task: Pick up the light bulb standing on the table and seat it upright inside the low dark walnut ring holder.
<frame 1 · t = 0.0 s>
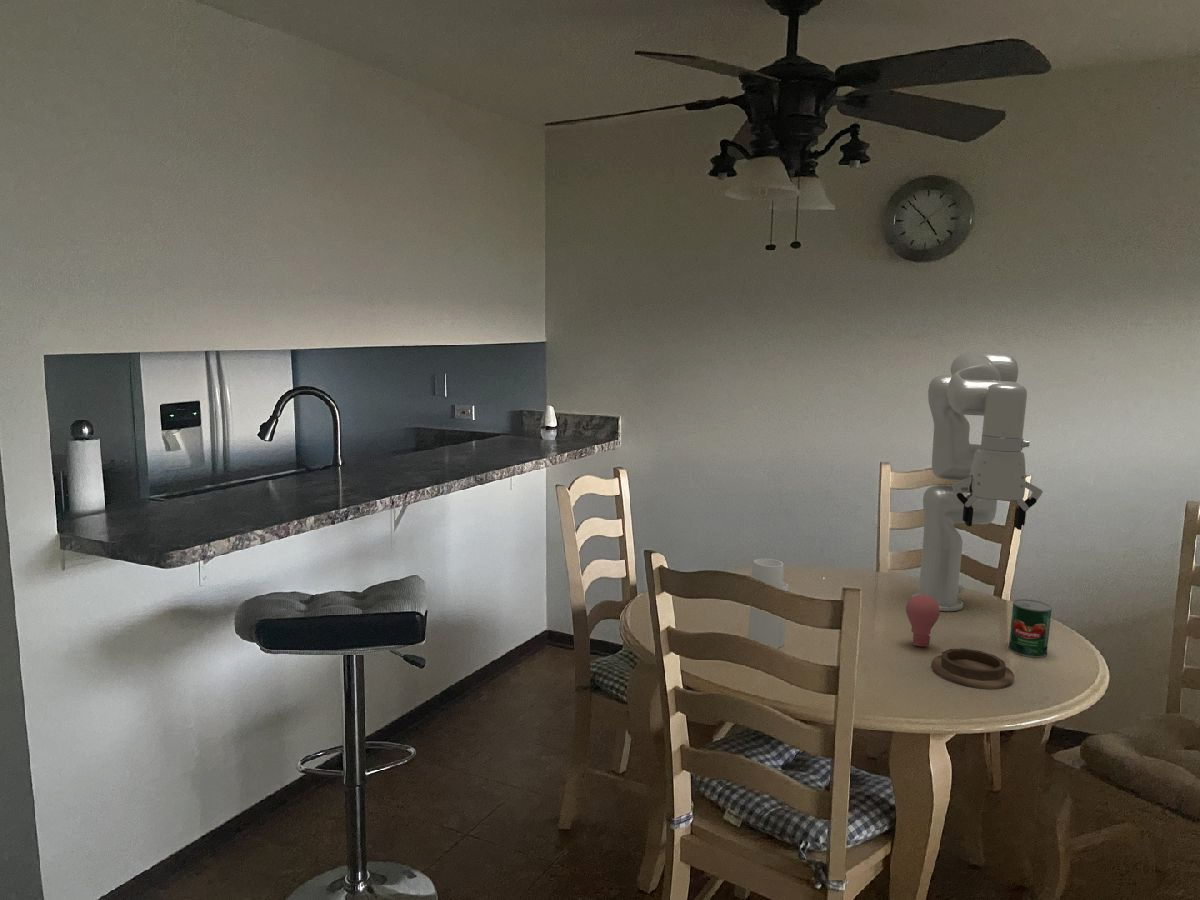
hand: (992, 526, 181), 31 cm above the table, tool pointing down, fingers open, 9 cm apart
holder: (971, 673, 183), on the table
vase: (764, 647, 194), on the table
canned tomato: (1027, 652, 197), on the table
light bulb: (919, 647, 198), on the table
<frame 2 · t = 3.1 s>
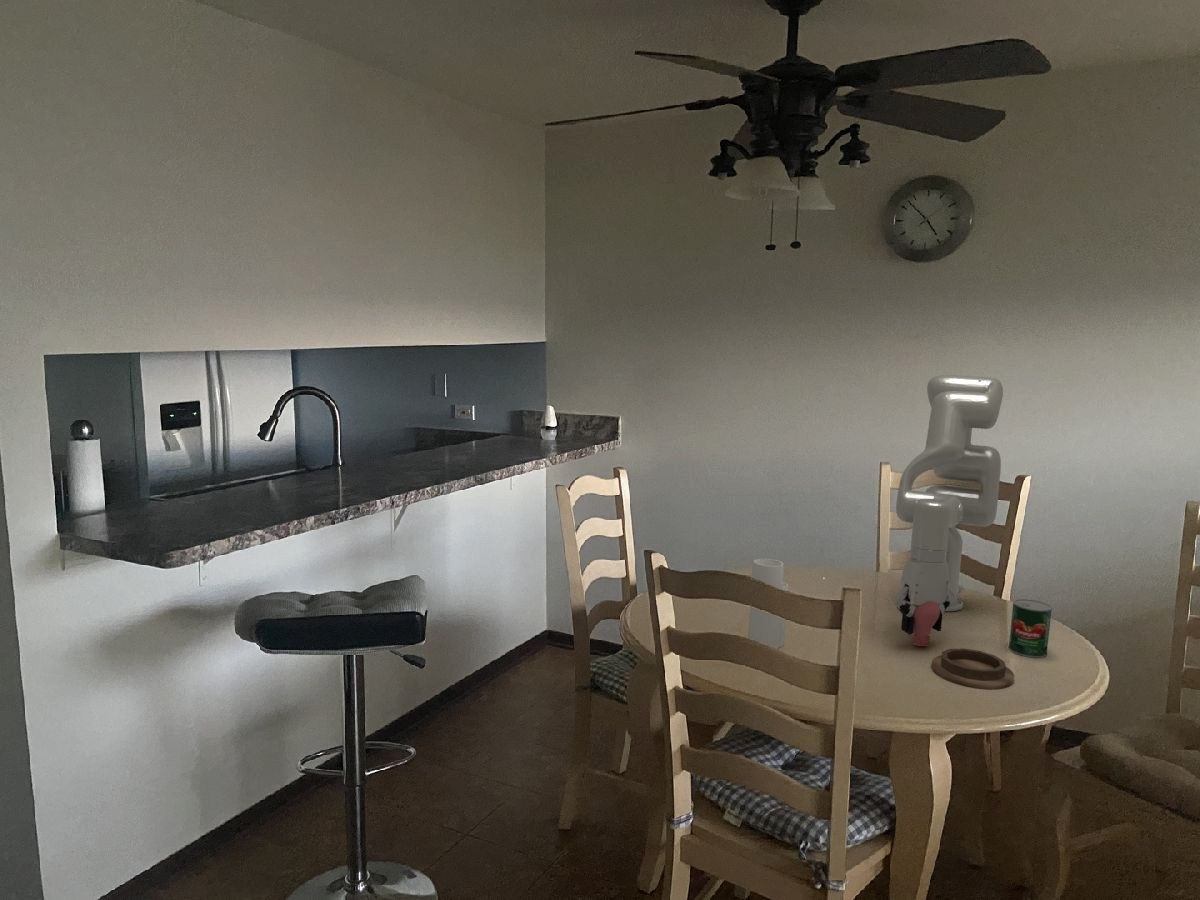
hand: (921, 630, 197), 4 cm above the table, tool pointing down, fingers closed on light bulb, 7 cm apart
light bulb: (919, 647, 198), on the table, touching gripper
everything else where it was.
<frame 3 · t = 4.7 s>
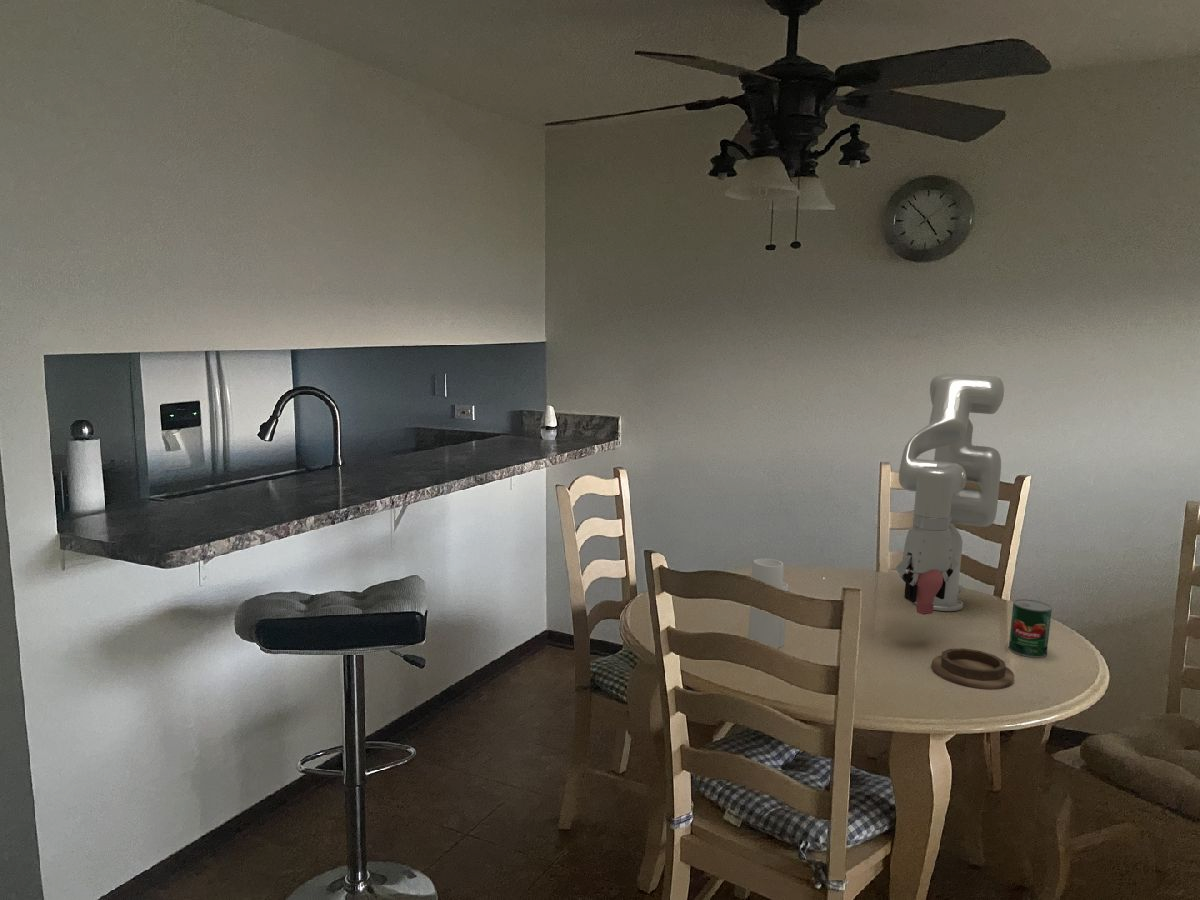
hand: (924, 598, 197), 11 cm above the table, tool pointing down, fingers closed on light bulb, 7 cm apart
light bulb: (922, 615, 198), point 7 cm above the table, touching gripper
everything else where it was.
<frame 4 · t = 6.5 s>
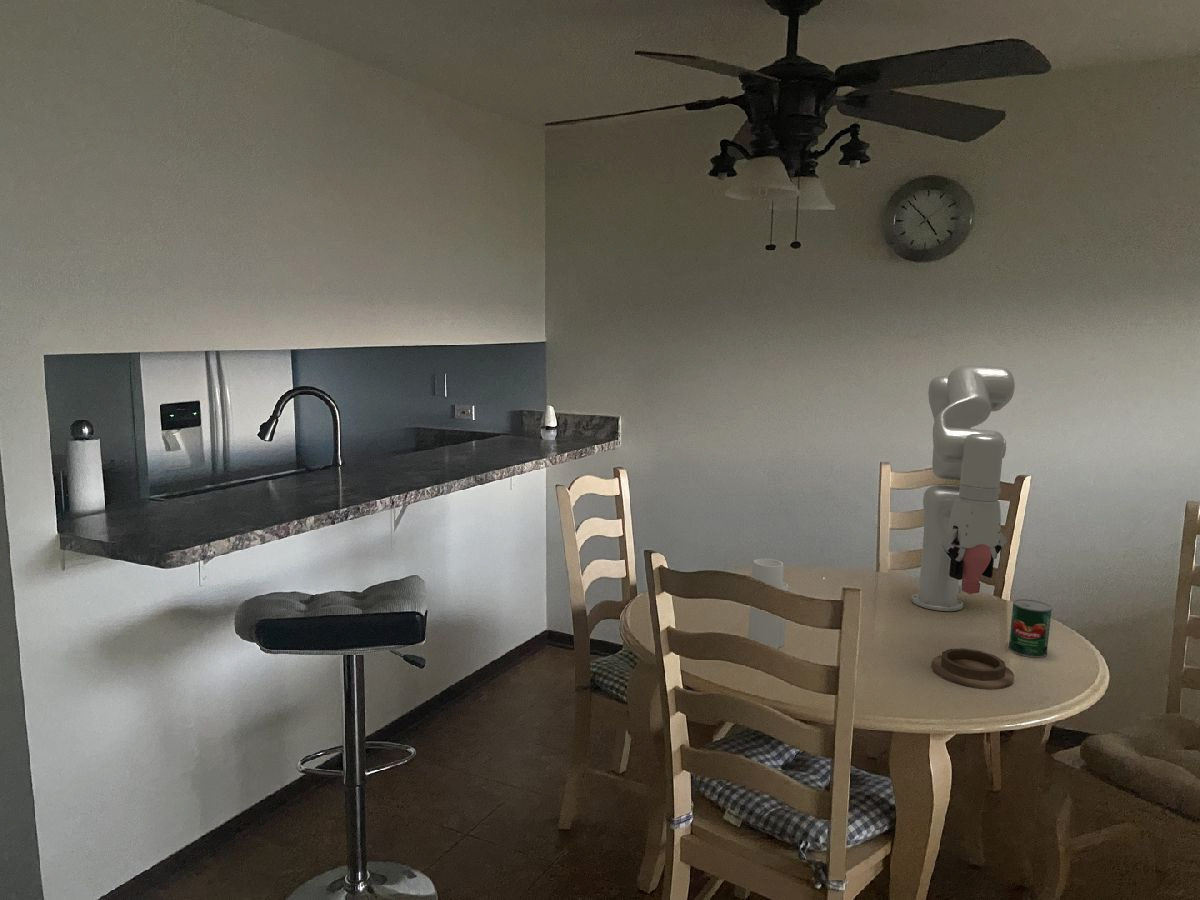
hand: (970, 576, 183), 20 cm above the table, tool pointing down, fingers closed on light bulb, 7 cm apart
light bulb: (968, 594, 184), point 16 cm above the table, touching gripper
everything else where it was.
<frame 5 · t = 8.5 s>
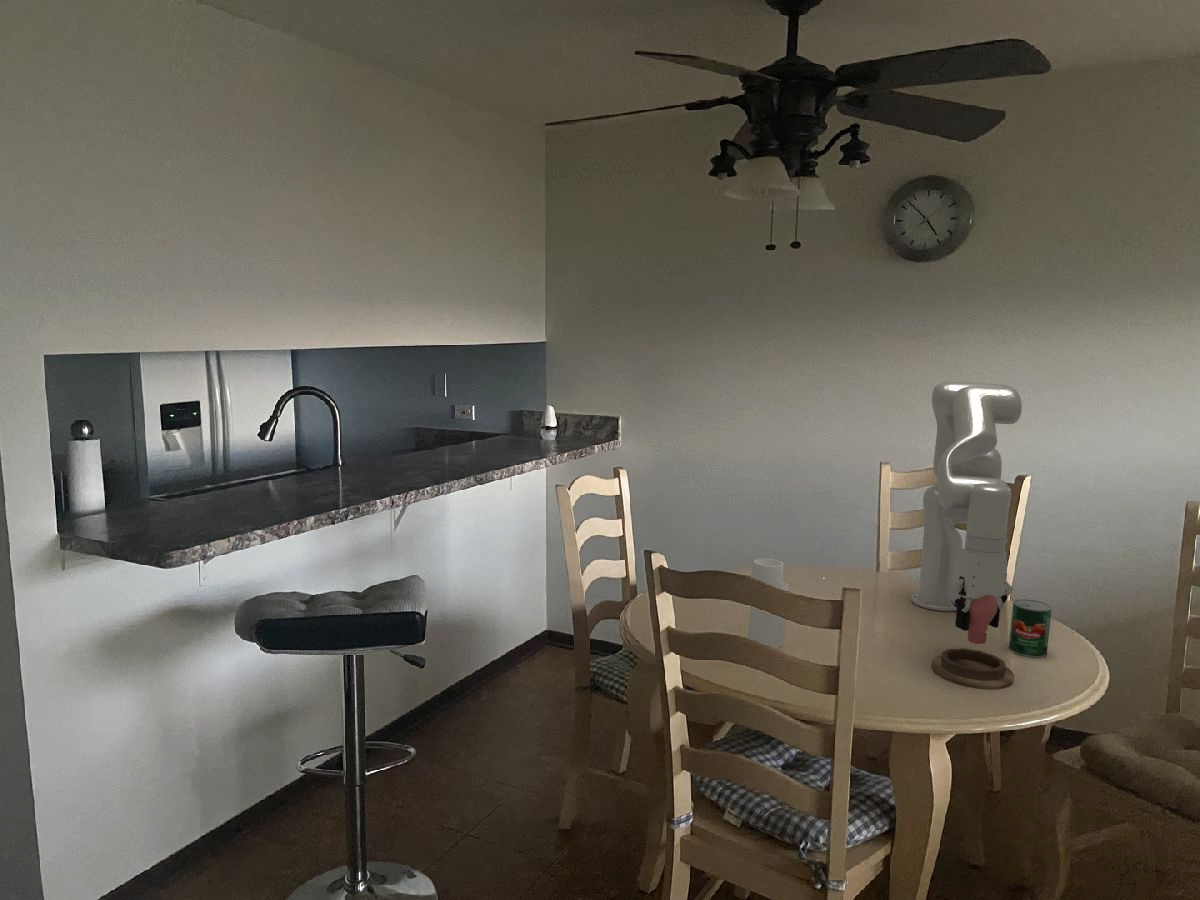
hand: (976, 626, 182), 10 cm above the table, tool pointing down, fingers closed on light bulb, 7 cm apart
light bulb: (974, 644, 182), point 6 cm above the table, touching gripper
everything else where it was.
when the fingers open (6 cm above the table, at t = 9.9 s): light bulb drops 1 cm, resting on holder.
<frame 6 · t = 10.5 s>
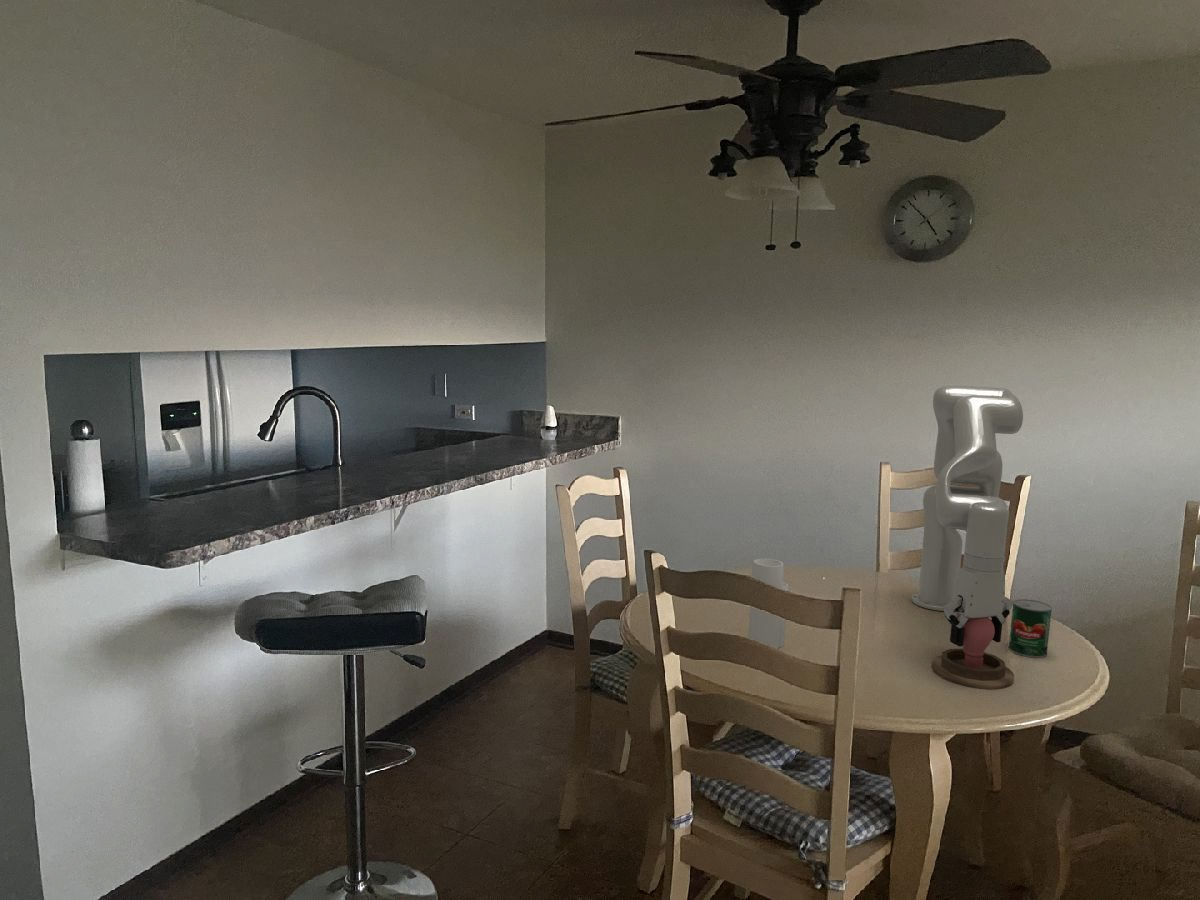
hand: (975, 642, 182), 7 cm above the table, tool pointing down, fingers open, 9 cm apart
light bulb: (971, 669, 184), point 1 cm above the table, touching holder
everything else where it was.
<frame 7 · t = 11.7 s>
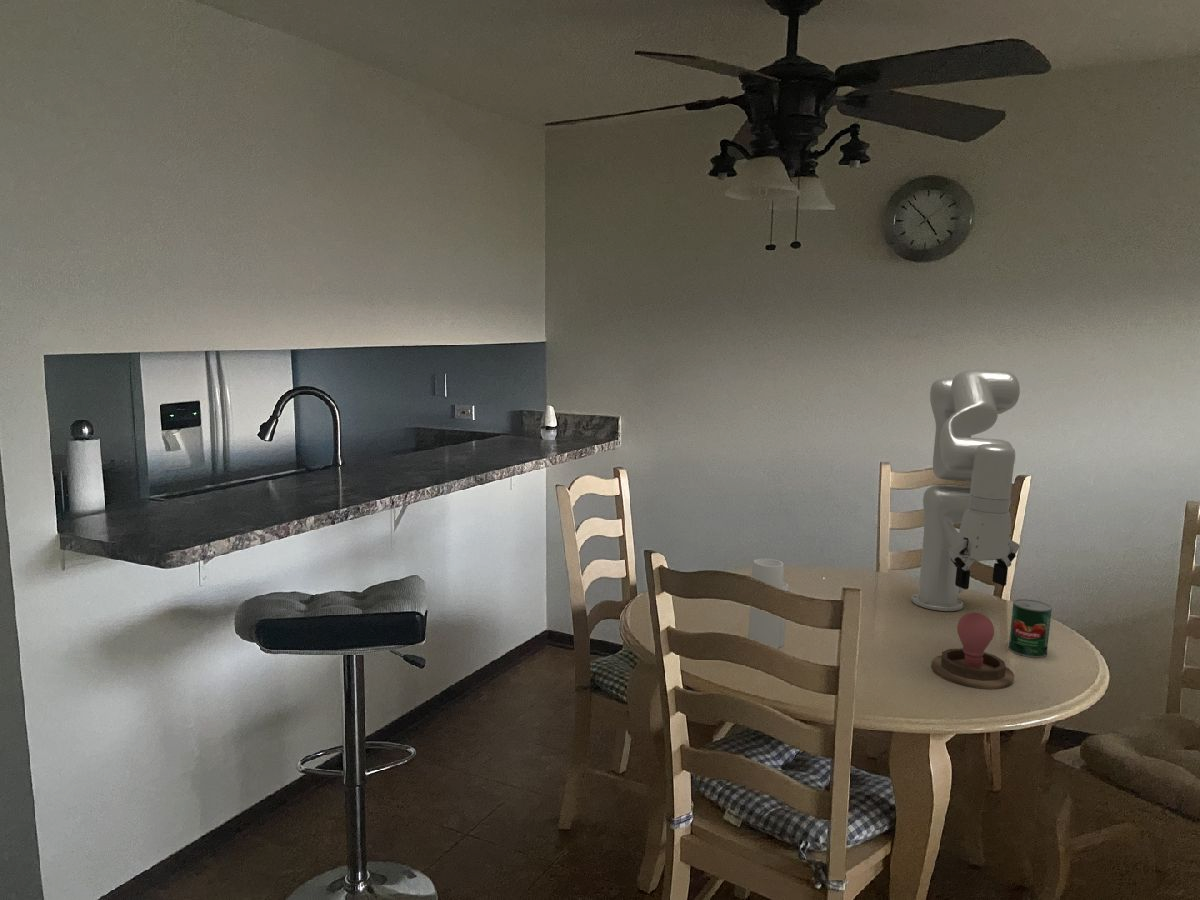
hand: (980, 585, 181), 19 cm above the table, tool pointing down, fingers open, 9 cm apart
nothing on the table moved.
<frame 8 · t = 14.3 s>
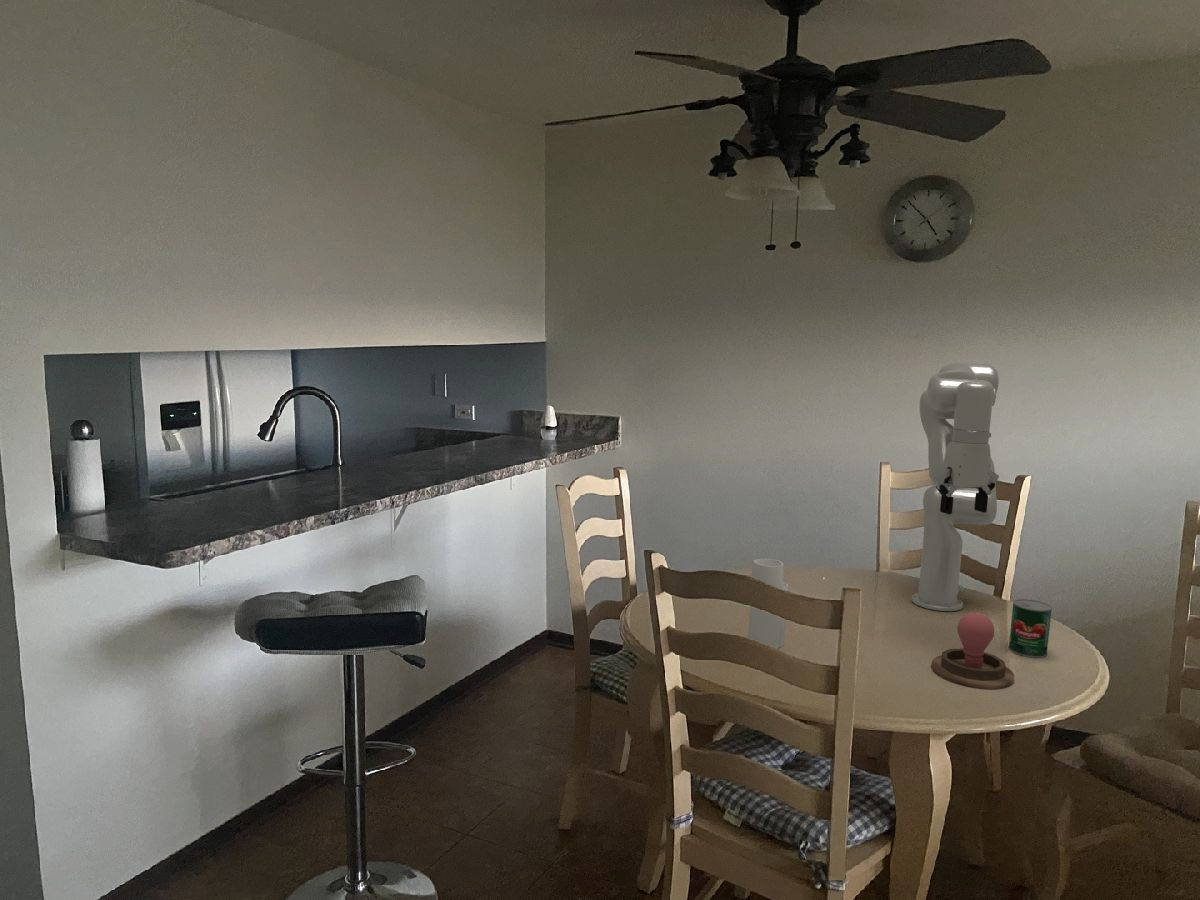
hand: (963, 512, 198), 30 cm above the table, tool pointing down, fingers open, 9 cm apart
nothing on the table moved.
at the end: light bulb 0.2 cm off-centre on the holder, point 0.8 cm above the holder's base; light bulb tilted 0°; the gripper is holding nothing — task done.
